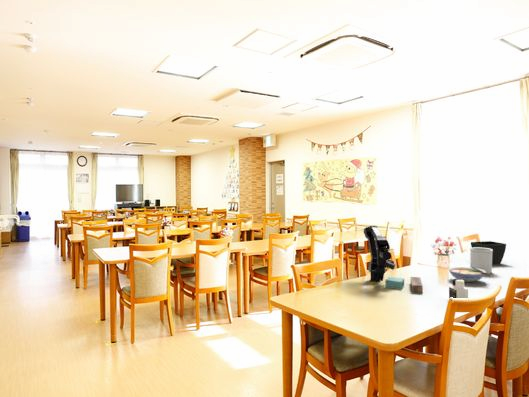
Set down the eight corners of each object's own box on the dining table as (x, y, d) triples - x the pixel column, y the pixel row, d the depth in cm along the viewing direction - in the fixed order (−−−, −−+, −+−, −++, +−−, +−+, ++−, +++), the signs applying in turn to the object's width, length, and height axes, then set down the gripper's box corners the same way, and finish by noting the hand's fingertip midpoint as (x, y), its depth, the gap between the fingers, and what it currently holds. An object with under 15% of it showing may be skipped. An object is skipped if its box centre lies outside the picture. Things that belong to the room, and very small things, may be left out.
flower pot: (470, 261, 316) (469, 241, 315) (490, 260, 318) (490, 240, 317) (485, 265, 297) (485, 244, 296) (507, 264, 299) (507, 244, 298)
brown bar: (412, 293, 226) (411, 285, 226) (410, 284, 247) (410, 276, 247) (422, 293, 224) (422, 285, 224) (420, 284, 245) (420, 277, 245)
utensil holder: (496, 272, 274) (496, 248, 273) (487, 275, 265) (486, 251, 265) (476, 268, 286) (476, 246, 285) (466, 271, 278) (466, 248, 277)
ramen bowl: (443, 276, 265) (443, 264, 265) (478, 277, 261) (478, 265, 260) (454, 285, 241) (454, 272, 241) (492, 286, 236) (492, 273, 236)
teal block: (385, 287, 239) (385, 280, 239) (388, 284, 248) (388, 276, 248) (401, 289, 234) (401, 281, 234) (404, 285, 243) (404, 278, 243)
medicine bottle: (448, 298, 213) (448, 278, 212) (460, 298, 213) (460, 277, 213) (456, 302, 206) (456, 281, 205) (468, 301, 206) (468, 280, 206)
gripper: (392, 260, 232) (393, 285, 232) (395, 255, 249) (396, 278, 249) (374, 259, 237) (375, 283, 237) (378, 254, 253) (379, 277, 254)
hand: (381, 280), depth 244 cm, fingers closed
